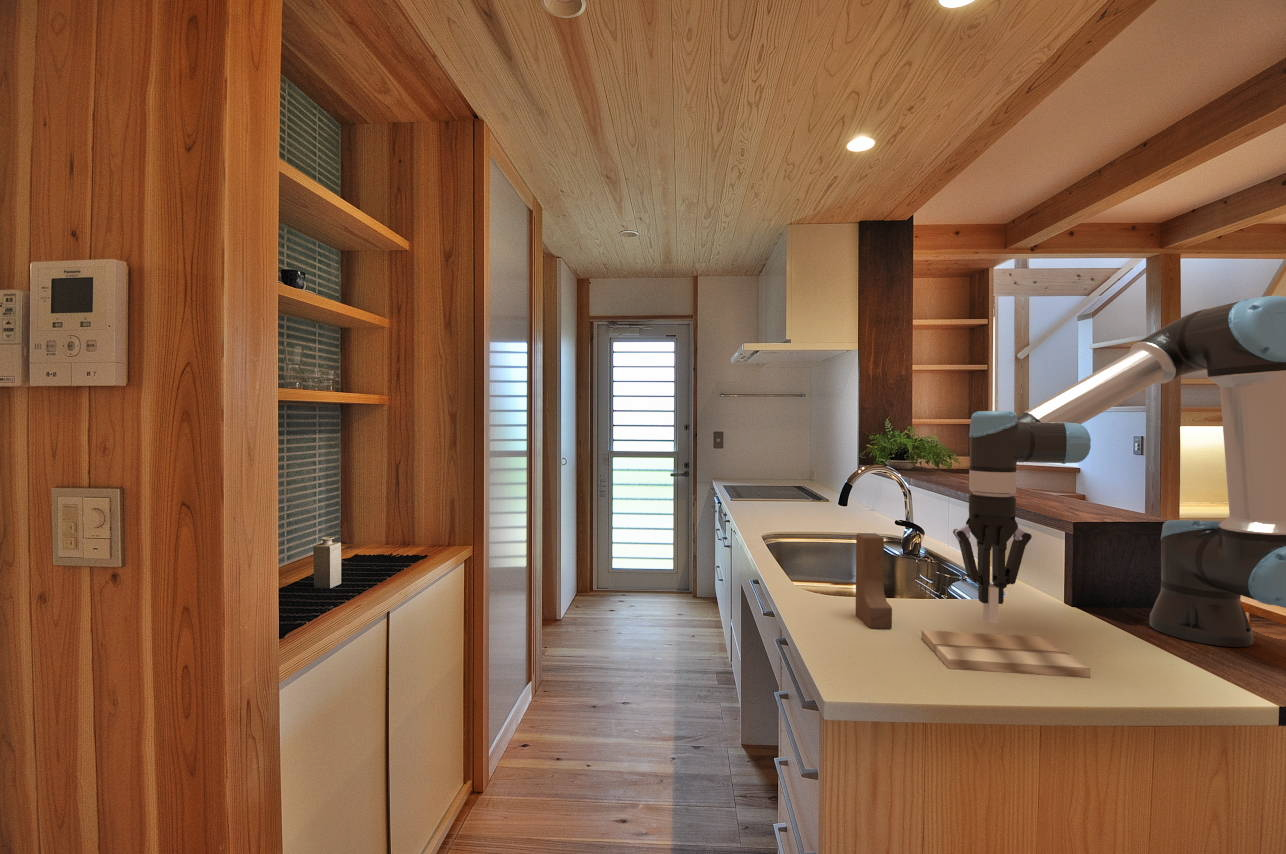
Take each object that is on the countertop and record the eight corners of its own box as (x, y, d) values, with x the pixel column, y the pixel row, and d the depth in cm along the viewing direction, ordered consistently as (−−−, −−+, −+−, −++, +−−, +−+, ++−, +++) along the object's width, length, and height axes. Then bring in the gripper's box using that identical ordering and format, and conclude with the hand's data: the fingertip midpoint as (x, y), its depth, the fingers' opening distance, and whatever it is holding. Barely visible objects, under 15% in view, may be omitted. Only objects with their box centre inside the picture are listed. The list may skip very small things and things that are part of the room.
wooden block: (892, 629, 118) (893, 541, 118) (870, 629, 119) (871, 540, 119) (875, 615, 127) (876, 533, 127) (854, 614, 128) (855, 532, 128)
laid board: (1067, 661, 103) (1067, 652, 103) (1090, 677, 96) (1090, 667, 96) (935, 653, 106) (935, 644, 106) (948, 668, 100) (948, 658, 99)
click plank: (1044, 644, 110) (1044, 637, 110) (1065, 660, 103) (1065, 651, 103) (921, 637, 113) (921, 630, 113) (934, 652, 106) (934, 643, 106)
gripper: (1020, 492, 111) (1018, 616, 111) (947, 490, 113) (945, 612, 113) (1040, 497, 103) (1039, 629, 103) (962, 495, 105) (961, 625, 105)
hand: (990, 620), depth 108 cm, fingers closed
